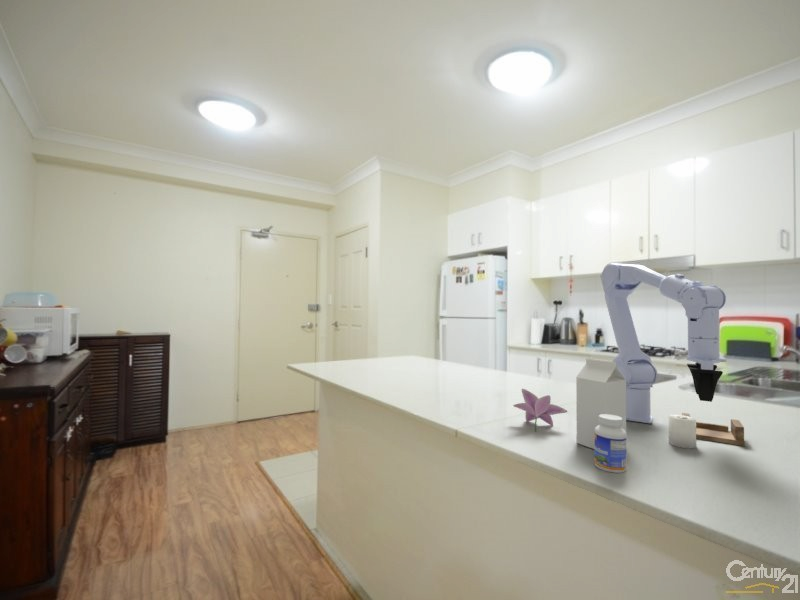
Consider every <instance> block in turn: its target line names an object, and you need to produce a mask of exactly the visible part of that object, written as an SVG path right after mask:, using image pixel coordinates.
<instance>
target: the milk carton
mask: <svg viewBox="0 0 800 600" xmlns="http://www.w3.org/2000/svg"><path fill="white" fill-rule="evenodd" d="M585 360H586V362H585V364H584V366H583V367H582V369H580V371H579V373H578V374H577V376H576V382H575V383H576V444H579V445H580V446H584V447H587V448H590V449H593V450H595V427H596V426H598V425H600V423H599V415H601V414H610V415H616V416H619V417H621V418H622V420H623V425H622V426H621V428H622V429H624V430H625V432H626V433H627V420H626V379H625V378H624V377H623V375H622V374H621V373H620V372H619V370H618V369H617V368H616V362H613V361H609V360H608V361H607V360H600V359H594V358H593V359H592V358H586V359H585Z"/></svg>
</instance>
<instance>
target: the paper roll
mask: <svg viewBox="0 0 800 600" xmlns="http://www.w3.org/2000/svg"><path fill="white" fill-rule="evenodd" d="M696 422H697V419H696V418H694V417H691V416H690V417H688V416H683V415H682V414H669V415H668V443H669V444H670V445H671V446H674V447H677V448H682V449H691V450H692V449H696V448H697V439H696Z"/></svg>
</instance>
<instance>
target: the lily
mask: <svg viewBox="0 0 800 600" xmlns="http://www.w3.org/2000/svg"><path fill="white" fill-rule="evenodd" d="M521 394H522V397H523V400H524V402H520V403H516V404H513V405H512V406H513V407H514V408H516V409H519V410H522V411H525V416H524V418H525V421H526V422H532V421H535V423H534V432H537V419H540V420H542V421H543V422H545V423H547V424H548V425H549V426H552V427H553V426H554V422H553V419H552V416H553V415H558V414H559V415H560V414H565V413H569V412H568V410H567V409H565V408H563V407H561V406H558V405H556V404H553V403H551V396H550V395H544V396H542V397H540V398H538V396H537V395H535V394H534V393H533V392H531V391H529V390H527V389H525V388H521Z"/></svg>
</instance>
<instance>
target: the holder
mask: <svg viewBox="0 0 800 600" xmlns="http://www.w3.org/2000/svg"><path fill="white" fill-rule="evenodd" d="M681 415H683V416H688V417H691V414H690V413H685V412H682V413H681ZM697 439H698V440H703V441H711V442H716V443H723V444H730V445H736V446H741V447H745V446H746V445H745V444H746V442H745V426H743V424H742V423H741V420H739V419H732V418H731V419H730V430H729V425H725V424H724V425H723V424H718V423H717V424H716V423H710V422H704V421H703V422H701V421H696V440H697Z"/></svg>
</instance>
